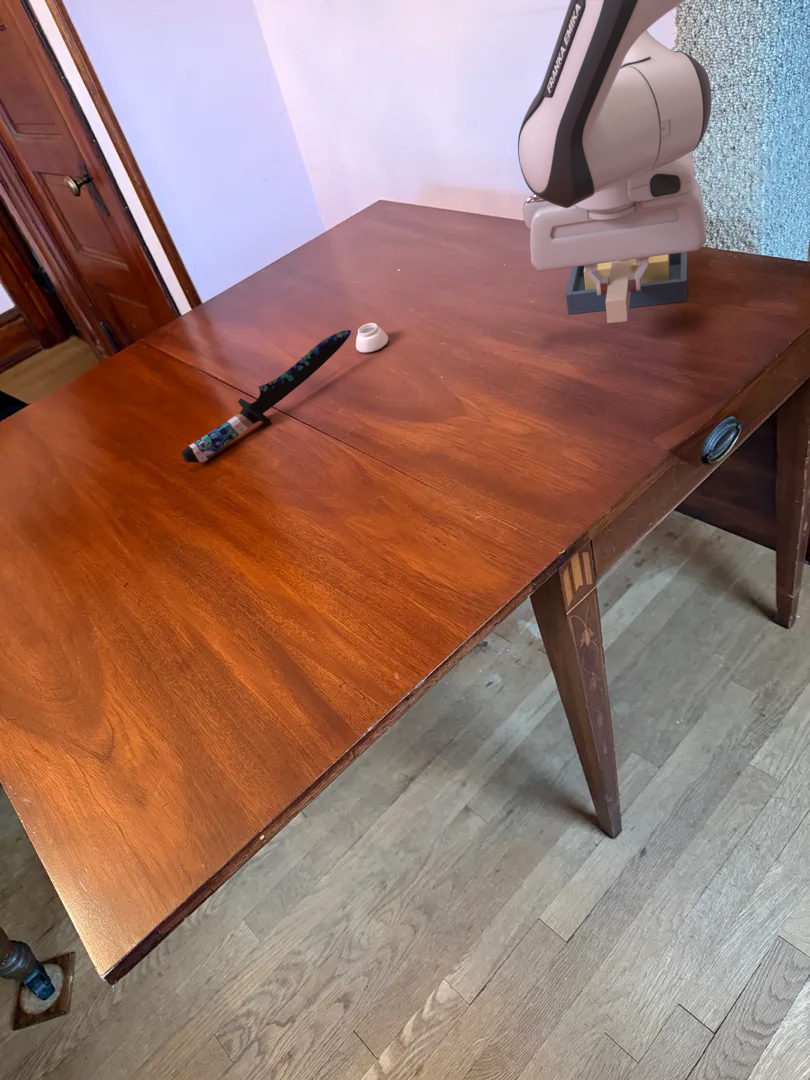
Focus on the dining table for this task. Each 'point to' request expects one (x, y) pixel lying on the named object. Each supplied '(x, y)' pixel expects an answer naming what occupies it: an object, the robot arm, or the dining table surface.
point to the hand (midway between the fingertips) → (619, 291)
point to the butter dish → (649, 294)
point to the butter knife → (618, 292)
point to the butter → (653, 273)
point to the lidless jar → (370, 338)
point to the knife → (264, 400)
